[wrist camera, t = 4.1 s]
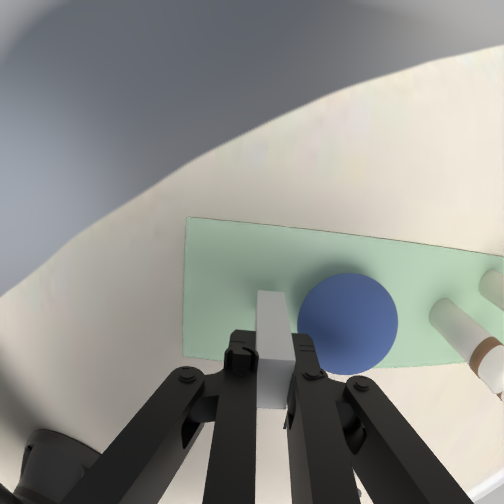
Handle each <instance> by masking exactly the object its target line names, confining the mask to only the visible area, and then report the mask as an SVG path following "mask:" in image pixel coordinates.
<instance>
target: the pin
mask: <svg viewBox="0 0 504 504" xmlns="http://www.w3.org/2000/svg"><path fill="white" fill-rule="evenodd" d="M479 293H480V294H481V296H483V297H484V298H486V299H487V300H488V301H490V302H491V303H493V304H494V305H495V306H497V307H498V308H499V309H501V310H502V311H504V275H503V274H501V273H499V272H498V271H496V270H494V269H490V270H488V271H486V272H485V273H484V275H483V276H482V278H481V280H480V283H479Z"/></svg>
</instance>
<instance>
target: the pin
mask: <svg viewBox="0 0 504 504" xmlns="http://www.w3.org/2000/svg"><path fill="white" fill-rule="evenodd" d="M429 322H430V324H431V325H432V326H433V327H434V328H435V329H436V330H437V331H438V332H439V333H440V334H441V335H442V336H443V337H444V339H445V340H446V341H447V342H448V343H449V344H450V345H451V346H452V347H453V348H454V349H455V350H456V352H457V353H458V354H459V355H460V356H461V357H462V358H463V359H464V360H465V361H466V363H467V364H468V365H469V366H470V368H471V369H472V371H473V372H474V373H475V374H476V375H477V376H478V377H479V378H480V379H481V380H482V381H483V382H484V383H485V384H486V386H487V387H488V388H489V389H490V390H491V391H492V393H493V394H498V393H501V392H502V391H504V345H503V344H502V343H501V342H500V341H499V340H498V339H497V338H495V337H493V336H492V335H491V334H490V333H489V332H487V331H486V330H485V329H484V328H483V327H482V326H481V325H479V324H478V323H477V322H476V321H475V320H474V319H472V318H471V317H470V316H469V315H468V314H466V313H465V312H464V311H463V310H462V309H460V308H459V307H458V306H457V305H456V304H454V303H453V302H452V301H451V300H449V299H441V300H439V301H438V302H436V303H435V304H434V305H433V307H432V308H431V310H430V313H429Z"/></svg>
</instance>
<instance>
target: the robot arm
mask: <svg viewBox="0 0 504 504" xmlns="http://www.w3.org/2000/svg"><path fill="white" fill-rule="evenodd" d="M286 404H287V406H288V410H287V415H286V419H285V423H284V427H283V429H286V426H287V438H288V451H289V465H290V479H291V494H292V504H361V503H360V498H359V494H358V490H357V485H356V481H355V477H354V473H353V469H354V471H355V472H356V474H357V476H358V478H359V479H360V481H361V483H362V484H363V486H364V488H365V490H366V491H367V493H368V495H369V496H370V498H371V500H372V502H373V503H374V504H474V503H473V502H472V501H471V499H470V498H469V497H468V496H467V494H466V493H465V492H464V491H463V489H462V488H461V487H460V486H459V484H458V483H457V482H456V481H455V479H454V478H453V477H452V476H451V474H450V473H449V472H448V471H447V469H446V468H445V467H444V466H443V465H442V463H441V462H440V461H439V460H438V458H437V457H436V456H435V455H434V453H433V452H432V451H431V450H430V449H429V447H428V446H427V445H426V444H425V442H424V441H423V440H422V439H421V437H420V436H419V435H418V434H417V433H416V431H415V430H414V429H413V428H412V426H411V425H410V424H409V423H408V422H407V420H406V419H405V418H404V417H403V416H402V414H401V413H400V412H399V411H398V409H397V408H396V407H395V406H394V405H393V403H392V402H391V401H390V400H389V399H388V397H387V396H386V395H385V394H384V392H383V391H382V390H381V389H380V388H379V386H378V385H377V384H376V383H375V382H374V381H373V380H372V379H370V378H368V377H365V376H353V377H350V378H349V379H348V380H347V382H346V383H344V382H339V381H335V380H332V379H330V378H328V375H327V373H326V371H324V370H323V369H322V368H320V365H319V361H318V357H317V353H316V350H315V347H314V342H313V339H312V338H311V337H310V336H309V335H308V334H302V333H291V329H290V323H289V317H288V312H287V306H286V300H285V295H284V292H276V291H264V290H258V293H257V303H256V312H255V322H254V331H249V330H238V329H235V330H234V331H233V332H232V333H231V334H230V340H229V347H228V348H227V349H226V351H225V352H224V368H223V369H222V370H221V371H220V372H217V373H215V374H210V375H204V374H203V372H202V371H201V370H199V369H197V368H195V367H190V366H184V367H179V368H176V369H175V370H173V371H172V372H171V373H170V375H169V376H168V377H167V378H166V379H165V381H164V382H163V383H162V384H161V385H160V386H159V388H158V389H157V390H156V391H155V392H154V394H153V395H152V396H151V397H150V398H149V400H148V401H147V402H146V403H145V404H144V405H143V407H142V408H141V409H140V410H139V411H138V413H137V414H136V415H135V416H134V417H133V418H132V420H131V421H130V422H129V423H128V424H127V426H126V427H125V428H124V429H123V430H122V431H121V433H120V434H119V435H118V436H117V437H116V438H115V440H114V441H113V442H112V443H111V444H110V445H109V447H108V448H107V449H106V450H105V451H104V452H103V454H102V455H100V454H98V453H97V452H95V451H93V450H92V449H90V448H88V447H87V446H85V445H83V444H81V443H79V442H77V441H75V440H73V439H71V438H69V437H67V436H64V435H62V434H59V433H56V432H52V431H48V430H37V431H35V432H34V433H33V434H32V435H31V437H30V438H29V440H28V441H27V443H26V445H25V451H24V455H23V461H22V467H21V473H20V480H19V483H18V485H17V487H16V489H15V490H14V492H13V494H12V493H11V492H10V491H9V490H8V489H7V488H6V487H4V486H3V485H2V484H1V483H0V504H157V503H158V502H159V500H160V499H161V497H162V495H163V494H164V492H165V490H166V489H167V487H168V486H169V484H170V482H171V481H172V479H173V477H174V476H175V474H176V472H177V471H178V469H179V467H180V466H181V464H182V462H183V461H184V459H185V457H186V456H187V454H188V452H189V450H190V449H191V447H192V445H193V444H194V442H195V440H196V438H197V437H198V435H199V433H200V432H201V430H202V428H203V426H204V423H205V422H214V421H215V425H214V431H213V438H212V444H211V450H210V457H209V463H208V470H207V476H206V483H205V489H204V496H203V502H202V504H255V473H256V414H257V408H268V409H286ZM352 467H353V469H352Z"/></svg>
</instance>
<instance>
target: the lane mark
mask: <svg viewBox="0 0 504 504" xmlns="http://www.w3.org/2000/svg"><path fill="white" fill-rule="evenodd" d="M490 269H494V270H496V271H498V272H499V273H501V274H503V275H504V257H502V256H496V255H490V254H483V253H477V252H471V251H465V250H458V249H452V248H445V247H438V246H432V245H425V244H418V243H411V242H404V241H396V240H389V239H382V238H374V237H367V236H359V235H351V234H343V233H335V232H327V231H318V230H310V229H301V228H292V227H283V226H274V225H265V224H255V223H245V222H235V221H225V220H215V219H204V218H193V217H187V218H186V236H185V258H184V291H183V356H186V357H193V358H201V359H209V360H217V361H224V352H225V351H226V349H227V348H228V347H229V340H230V334H231V333H232V332H233V331H234V330H235V329H238V330H249V331H254V322H255V312H256V303H257V293H258V290H264V291H276V292H284V295H285V300H286V306H287V312H288V317H289V323H290V329H291V333H298V332H297V319H298V314H299V310H300V307H301V305H302V303H303V301H304V299H305V297H306V296H307V295H308V293H309V292H310V291H311V290H312V289H313V288H314V287H315V286H316V285H317V284H318V283H320V282H321V281H323V280H324V279H327V278H329V277H331V276H334V275H337V274H342V273H356V274H362V275H365V276H368V277H370V278H372V279H374V280H376V281H377V282H379V283H380V284H381V285H382V286H383V287H384V288H385V289H386V290H387V291H388V292H389V294H390V295H391V297H392V299H393V301H394V303H395V306H396V309H397V314H398V330H397V335H396V339H395V341H394V343H393V346H392V348H391V349H390V351H389V352H388V354H387V355H386V356H385V357H384V359H383V360H382V361H380V362H379V363H378V364H377V365H376V366H374V367H372V368H398V367H417V366H432V365H444V364H454V363H464V362H466V361H465V360H464V359H463V358H462V357H461V356H460V355H459V354H458V353H457V352H456V350H455V349H454V348H453V347H452V346H451V345H450V344H449V343H448V342H447V341H446V340H445V339H444V337H443V336H442V335H441V334H440V333H439V332H438V331H437V330H436V329H435V328H434V327H433V326H432V325H431V324H430V322H429V313H430V310H431V308H432V307H433V305H434V304H435V303H436V302H438V301H439V300H441V299H449V300H451V301H452V302H453V303H454V304H456V305H457V306H458V307H459V308H460V309H462V310H463V311H464V312H465V313H466V314H468V315H469V316H470V317H471V318H472V319H474V320H475V321H476V322H477V323H478V324H479V325H481V326H482V327H483V328H484V329H485V330H486V331H487V332H489V333H490V334H491V335H492V336H493V337H495V338H497V339H498V340H499V341H500V342H501V343H502V344H503V345H504V311H502V310H501V309H499V308H498V307H497V306H495V305H494V304H493V303H491V302H490V301H488V300H487V299H486V298H484V297H483V296H481V294H480V293H479V283H480V280H481V278H482V276H483V275H484V273H485V272H486V271H488V270H490Z"/></svg>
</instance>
